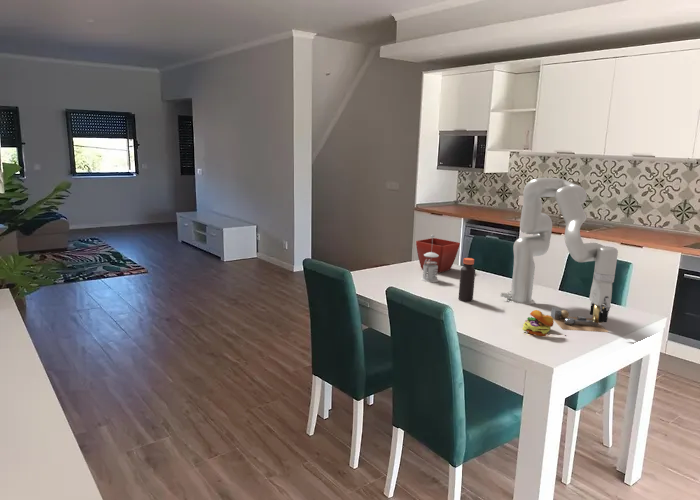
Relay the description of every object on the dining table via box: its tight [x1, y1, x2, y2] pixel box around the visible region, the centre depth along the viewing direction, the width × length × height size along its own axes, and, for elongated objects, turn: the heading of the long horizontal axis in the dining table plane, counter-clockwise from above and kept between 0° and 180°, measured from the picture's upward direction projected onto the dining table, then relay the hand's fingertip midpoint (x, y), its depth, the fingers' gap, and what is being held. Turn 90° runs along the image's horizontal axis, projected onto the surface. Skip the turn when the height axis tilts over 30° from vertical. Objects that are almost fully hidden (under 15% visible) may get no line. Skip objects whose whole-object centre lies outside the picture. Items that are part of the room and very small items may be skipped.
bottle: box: [458, 257, 476, 303], centre depth 241 cm, size 7×7×20 cm
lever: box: [564, 304, 605, 325], centre depth 209 cm, size 15×5×9 cm, turn 87°
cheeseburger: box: [522, 309, 555, 337], centre depth 202 cm, size 10×11×10 cm
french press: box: [420, 234, 439, 283], centre depth 275 cm, size 10×12×25 cm
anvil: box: [550, 306, 562, 321], centre depth 217 cm, size 2×5×4 cm, turn 175°
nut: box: [561, 309, 570, 319], centre depth 217 cm, size 4×4×4 cm
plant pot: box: [415, 237, 461, 274], centre depth 301 cm, size 19×19×17 cm
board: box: [553, 316, 609, 333], centre depth 211 cm, size 18×17×1 cm
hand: (598, 318), depth 208 cm, fingers open, 8 cm apart
